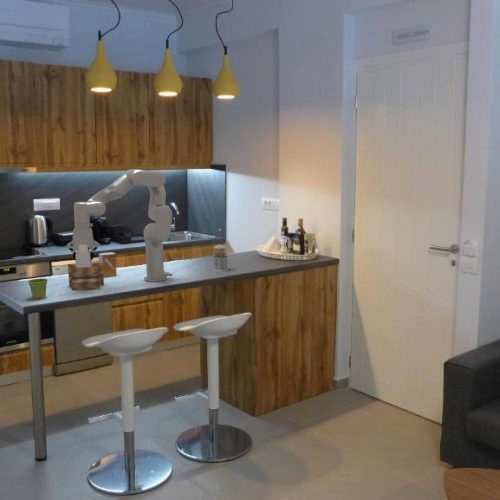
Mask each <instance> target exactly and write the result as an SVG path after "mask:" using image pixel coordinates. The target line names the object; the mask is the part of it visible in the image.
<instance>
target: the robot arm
mask: <svg viewBox="0 0 500 500" xmlns="http://www.w3.org/2000/svg"><path fill="white" fill-rule="evenodd" d="M166 180H167V179H166V176H165V174H164V173H162V172H161V171H155V170H154V171H152V170H142V169H135V168H134V169H128V170H127V171H125V172H124V173H123V174H121V176H119V177H118V178H117V179H116V180H114V182H113V181H112V183H111V184H110V185H108V186H106V187H104V188H103V189H101V190H99V191H97V193H94V195H93V196H91V197H90V198H89V199H88V200H87V201H75V202H74V204H73V213H74V214H73V215H74V217H73V218H74V228H73V230H72V240H71V241H70V242H69V243H67V244H66V248H67V249H68V250H69V251H70V252H72V259H73V260H74V261H75V262H76V260H75V254H76V253H77V252H76V251H77V248H78V247H79V245H82V244H85V245H87V247H88V248H89V251H90V252H91V260H92V261H93V260H94V258H95V253H94V252H96V250H97V249H98V247H100V243H99V242H97V241H96V240H95V239H94V233H93V230H92V227H93V225H94V223H91V222H90V216H95V217H99V216H103V215H104V214H105V213H106V210H107V209H106V208H107V207H106V205H107V204H108V203H110V202H111V201H115V200H116V201H117V200H118V199H121V198H123V196H125V195H126V194H127V193H128V192H129V191H130V190H132V189H133V188H134V187H135V186H137V187H147V189H148V191H149V194H150V195H149V205H148V211H147V212H148V213H147V214H148V218H149V219H150V220H152V221H154V222H151V223H148V224H147V225H145V227H144V228H143V238H144V244H145V266H146V267H145V268H146V276H145V277H143V280H144V281H146V282H150V283H151V282H152V283H153V282H155V283H157V282H163V281H166V280H167V278H168V277H172V276H173V272H170V271H167V272H166V271H165V270H164V269H165V268H164V265H165V263H164V245H163V243H165V242H166V241H168V239H169V238H170V234H171V230H172V222H173V221H172V220H173V211H172V209H171V207H170V206H169V205H167V204H166V200H167V199H166V196H167V193H166V189H165V186H164V185H165V184H166ZM71 245H72V246H71ZM94 245H95V246H94Z"/></svg>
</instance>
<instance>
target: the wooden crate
mask: <svg viewBox="0 0 500 500" xmlns="http://www.w3.org/2000/svg"><path fill="white" fill-rule="evenodd" d="M67 270H68V271H67V272H68V287H69V288H71V291H83V290H87V291H88V290H99V289H101V286H104V285H105V282H104V281H105V277H104V275H103V263H99V262H92V265H91V266H90V267H83V268H76V263H68V264H67Z"/></svg>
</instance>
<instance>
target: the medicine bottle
mask: <svg viewBox="0 0 500 500" xmlns="http://www.w3.org/2000/svg"><path fill="white" fill-rule="evenodd" d="M76 251H77V252H76V254H75V259H74V261H75V260H76V261H75V264H76V268H83V267H90V266H91V265H92V263H93V262H92V261H93V260H91V251H90V248H88V247H87V245H85V244H82V245H79V247H78V248H77V249H76Z"/></svg>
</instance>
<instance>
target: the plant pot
mask: <svg viewBox="0 0 500 500" xmlns="http://www.w3.org/2000/svg"><path fill="white" fill-rule="evenodd" d="M48 281H49V280H48V278H34V279H29V280H27V283H28V286H29V289H30V292H31V298H32V299H33V300H34V299H35V300H38V299H44V298H46V296H47V295H46V294H47V283H48Z"/></svg>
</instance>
